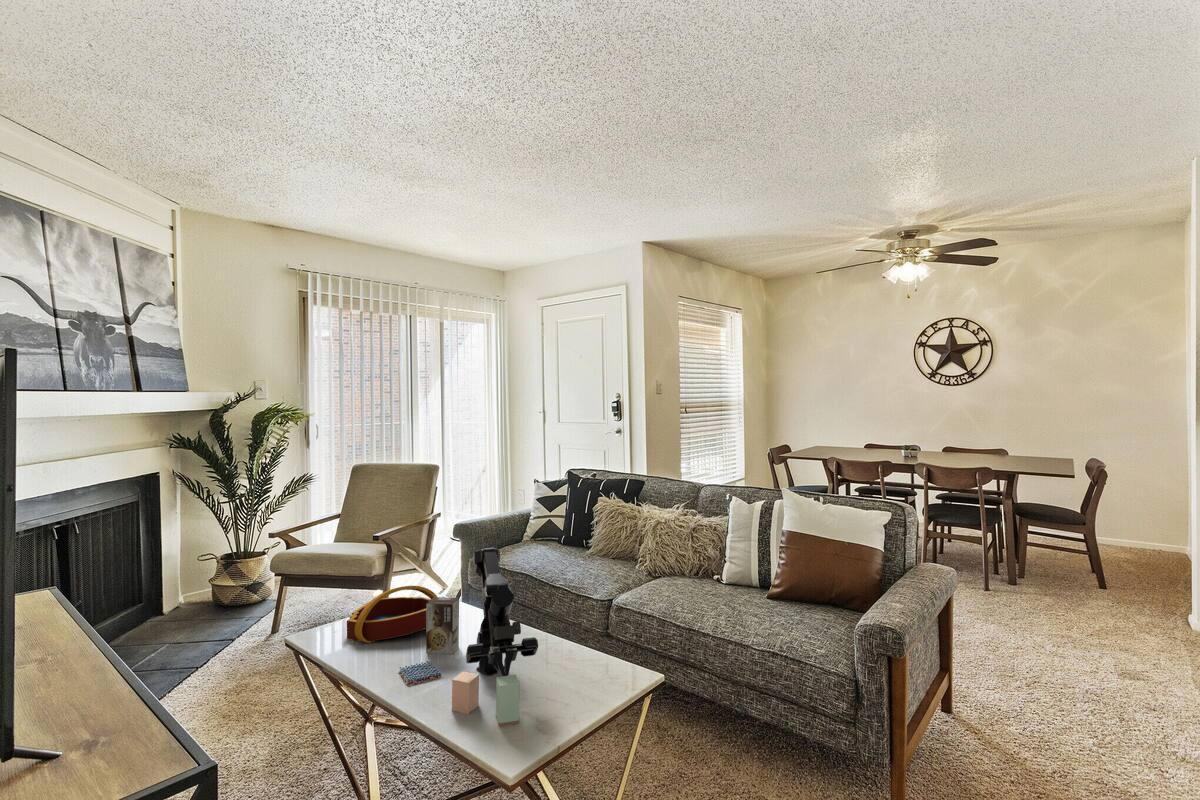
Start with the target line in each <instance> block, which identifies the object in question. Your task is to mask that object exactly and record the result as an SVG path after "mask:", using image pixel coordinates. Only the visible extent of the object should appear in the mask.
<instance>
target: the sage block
mask: <svg viewBox="0 0 1200 800" xmlns="http://www.w3.org/2000/svg"><path fill="white" fill-rule="evenodd" d="M495 684H496V687H495V689H496V690H495V691H496V692H495V693H496V694H495V718H496V721H497V725H498V727H504V726H513V725H518V724H520V720H519V719H520V681H519V678H518V677H517V674H511V675H508V676H502V677H500V676H497V677H496V683H495Z"/></svg>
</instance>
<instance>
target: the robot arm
mask: <svg viewBox="0 0 1200 800" xmlns="http://www.w3.org/2000/svg"><path fill="white" fill-rule="evenodd" d="M500 562H501V551H500V549H498V548H497V547H486V548H482V549H478V550H476V551H474V552H473V554H472V565H473V566H474V570H475V573H476V574H477V576H479V577H480V584H481V585H480V586H481V597H482V607H483V608H482V609H483V610H482V611H483V620H482V621H481V624H480V628H479V631H478V633H477V637H476V643H472V644H469V645H468V646H467V647H466V652H465V660H466V661H465V662H466V664H475V663H478V666H477V667H476V670H477V671H478V672H481V673H483V674H485V675H488V676H493V675H495V674H498V676H499V677H502V676H509V673H510V670H511V669H510V668H511V664H512V662H514V661H516V660H517V655H518V652H520V655H521V656H523V657H524V658H525V657H531V656H532V657H533V656H535V655H536V654H537V651H538V649H539V641H538V639H537V637H535V636H534V637H526V638H525V637H524V638H522V639H521V643H516V644H515V643H514V641H515V636H516V635H520V634H522V633H521V632H522V628H521V621H520V620H519V621H513V622H512V625H511V620H510V619H511V618H510V614H511V613H510V612H511V609H512V606H513V604H514V603H513V602H514V597H515V592H514V591H513V589H512V588H511V586H510V585H509V583H508V580H507V578H505V577H504V576H503V575H502V574H501V569H500V564H499V563H500ZM513 643H514V644H513ZM504 654H505V657H504V659H503V655H504ZM503 660H504V661H503ZM503 662H504V663H503Z"/></svg>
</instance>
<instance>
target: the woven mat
mask: <svg viewBox="0 0 1200 800" xmlns="http://www.w3.org/2000/svg"><path fill="white" fill-rule="evenodd" d="M398 674H399V676H400V677H401V678H402V680H403V681H404V682H405V684H406V685H407V686H408V687H409V686H413V685H417V684H418V685H419V684H421V683H426V682H429V681H434V680H437V679H441V678H443V676H442V675H443V673H442V671H440V668H438V667H437V666H436V665H435V664H434V663H433V662H432V661H428V660H426V661H425V662H421V663H416V664H410V666H409V665H408V666H407V665H405V667H401V666H400V667H399V671H398Z"/></svg>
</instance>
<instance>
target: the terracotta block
mask: <svg viewBox="0 0 1200 800" xmlns="http://www.w3.org/2000/svg"><path fill="white" fill-rule="evenodd" d="M451 682H452V683H451V711H453V712H457V713H462V714H466V715H469V714H470V713H471V712H472V711H473V710H474V709H475V708H477V707H478V706H479V705H480V702H479V700H480V697H479V695H480V674H478V673H473V672H467V671H462V672H460V673H459V674H457V675H456V676H455V677H454V678H452V679H451Z"/></svg>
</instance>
